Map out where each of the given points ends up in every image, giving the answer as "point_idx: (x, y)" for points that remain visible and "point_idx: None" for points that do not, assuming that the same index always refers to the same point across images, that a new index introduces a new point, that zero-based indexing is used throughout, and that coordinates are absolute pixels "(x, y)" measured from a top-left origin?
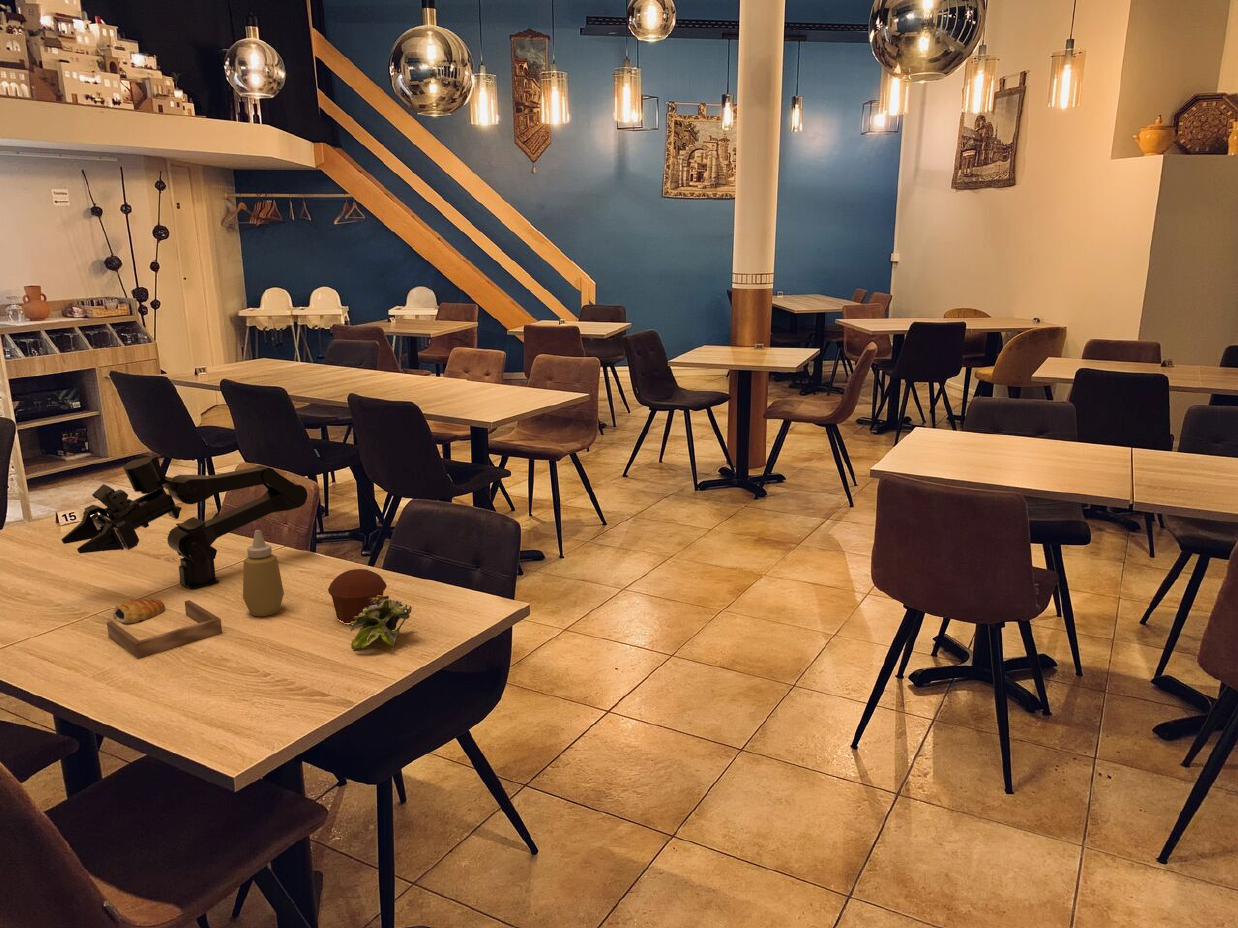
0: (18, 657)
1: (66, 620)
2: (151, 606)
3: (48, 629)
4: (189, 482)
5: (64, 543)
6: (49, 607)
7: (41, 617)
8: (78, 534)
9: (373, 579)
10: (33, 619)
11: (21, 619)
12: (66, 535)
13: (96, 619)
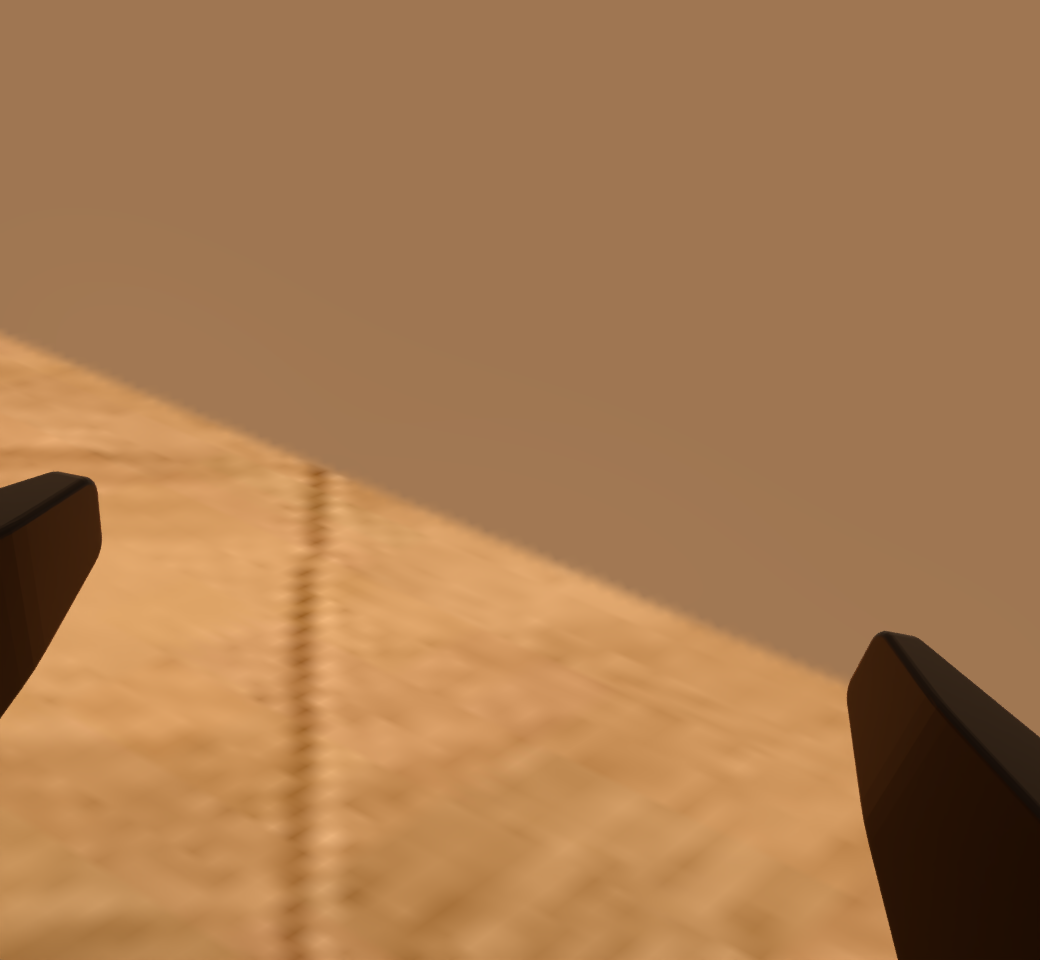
0: (125, 415)
1: (386, 798)
2: None
3: (340, 655)
4: None
5: (850, 695)
6: (753, 862)
7: (590, 733)
8: (992, 942)
9: None
10: (594, 690)
11: (651, 654)
12: (967, 694)
13: (179, 950)
